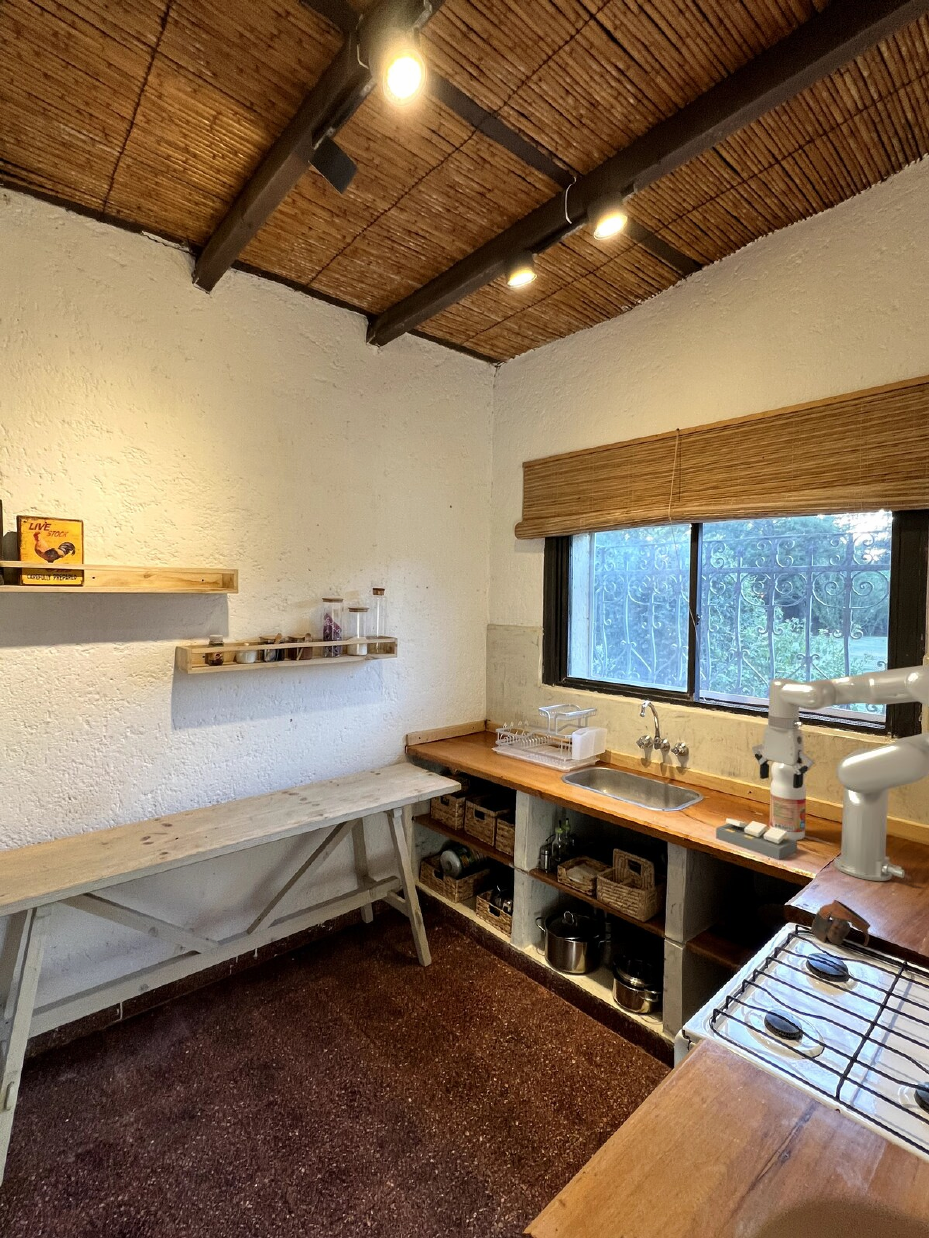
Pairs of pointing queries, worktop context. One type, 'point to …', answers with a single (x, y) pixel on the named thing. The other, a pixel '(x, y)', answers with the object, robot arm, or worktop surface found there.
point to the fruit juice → (787, 802)
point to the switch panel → (756, 842)
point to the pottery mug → (838, 923)
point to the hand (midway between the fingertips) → (780, 782)
